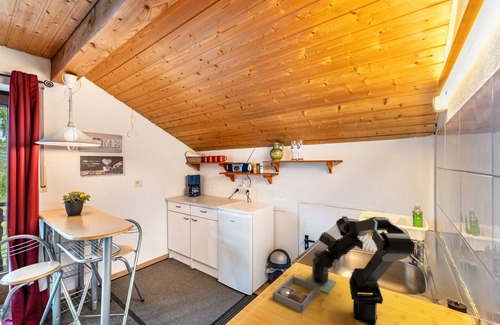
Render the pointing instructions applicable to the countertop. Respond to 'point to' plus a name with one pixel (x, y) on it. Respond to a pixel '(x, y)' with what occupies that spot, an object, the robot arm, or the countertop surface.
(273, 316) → the countertop surface
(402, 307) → the countertop surface
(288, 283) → the parts organiser
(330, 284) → the rubber mat
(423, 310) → the countertop surface
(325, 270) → the supplement bottle
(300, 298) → the walnut block
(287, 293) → the silver round piece
